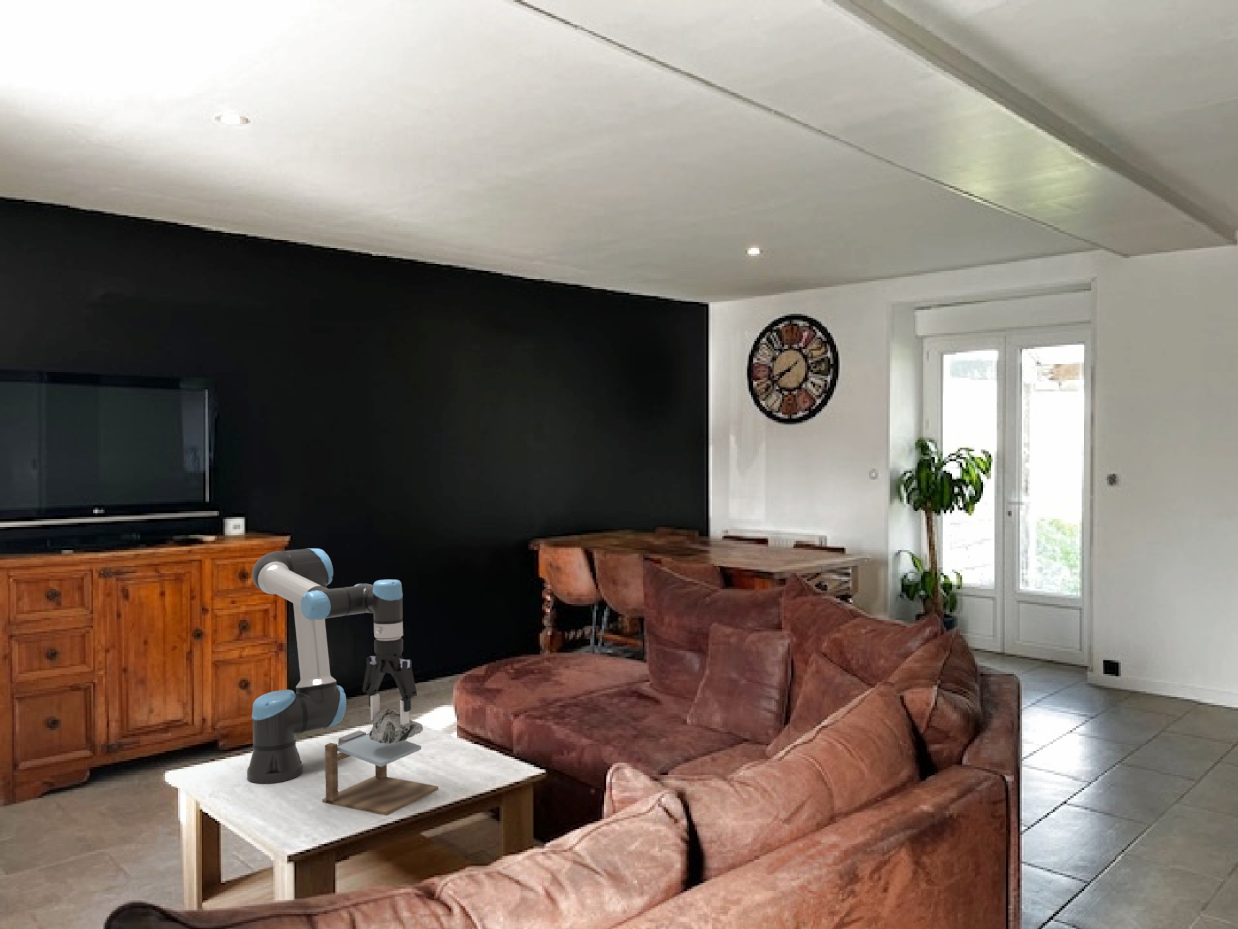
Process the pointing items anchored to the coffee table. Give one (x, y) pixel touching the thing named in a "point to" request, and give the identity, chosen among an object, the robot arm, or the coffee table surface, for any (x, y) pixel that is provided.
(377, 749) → the trapdoor
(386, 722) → the rock
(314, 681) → the robot arm
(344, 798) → the frame
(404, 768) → the coffee table surface
